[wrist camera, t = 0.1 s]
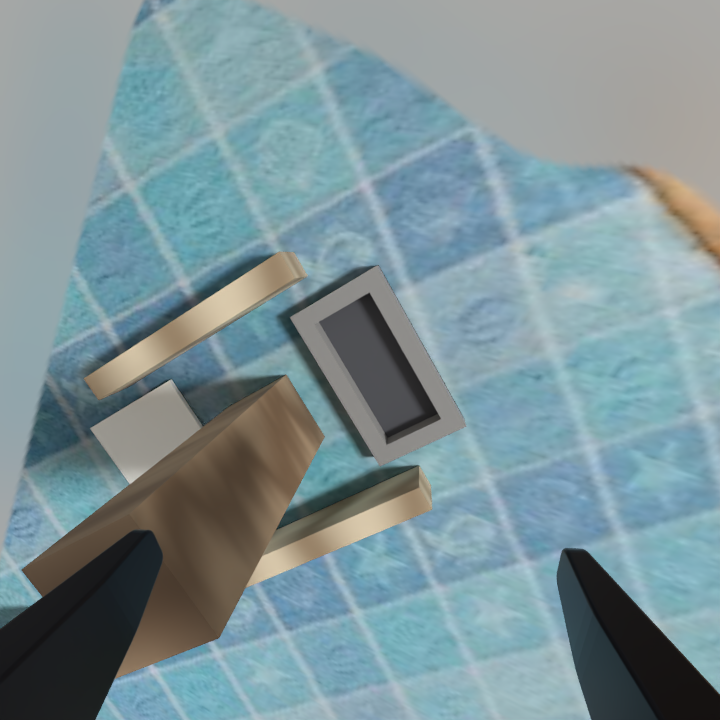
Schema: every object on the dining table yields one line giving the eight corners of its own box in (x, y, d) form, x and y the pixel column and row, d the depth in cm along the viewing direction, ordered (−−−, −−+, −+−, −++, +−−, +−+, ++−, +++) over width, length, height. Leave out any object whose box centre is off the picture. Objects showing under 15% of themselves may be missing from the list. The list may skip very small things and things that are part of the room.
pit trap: (378, 265, 23) (376, 265, 21) (463, 418, 24) (466, 426, 23) (296, 314, 24) (289, 317, 23) (381, 456, 25) (380, 466, 24)
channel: (293, 252, 23) (279, 251, 21) (430, 485, 25) (432, 509, 23) (114, 367, 26) (83, 378, 24) (249, 564, 29) (234, 592, 26)
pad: (171, 379, 26) (168, 380, 26) (265, 519, 27) (263, 522, 27) (93, 426, 28) (89, 428, 27) (185, 556, 29) (183, 559, 29)
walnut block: (324, 436, 25) (218, 638, 12) (266, 465, 27) (109, 681, 13) (286, 374, 25) (129, 514, 11) (227, 407, 26) (21, 569, 12)
